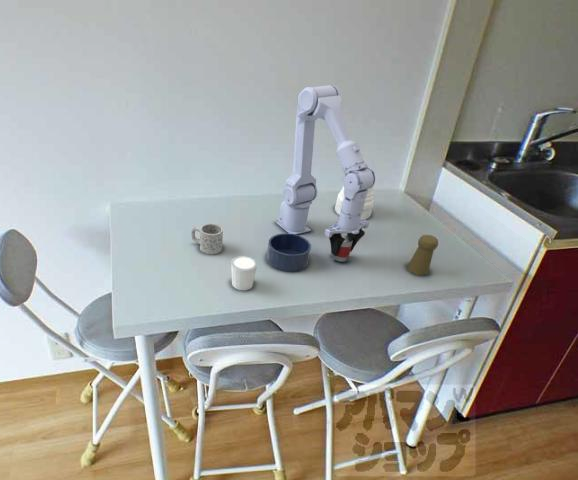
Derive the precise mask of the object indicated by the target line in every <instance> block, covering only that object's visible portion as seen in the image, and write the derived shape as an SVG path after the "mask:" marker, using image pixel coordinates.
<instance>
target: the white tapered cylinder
mask: <svg viewBox="0 0 578 480" xmlns="http://www.w3.org/2000/svg"><path fill="white" fill-rule="evenodd" d="M230 265H231V266H230V267H231V268H230V269H231V270H230V271H231V285H232V287H233V288H234V289H236V290H239V291H248V290H251V289H252V288H253V286H254V280H255V277H256V271H257V268H258V262H257V260H256V259H254V258H253V257H251V256H248V255H239V256H236V257H233V258H232V259H231V262H230Z"/></svg>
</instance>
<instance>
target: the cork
mask: <svg viewBox="0 0 578 480" xmlns="http://www.w3.org/2000/svg"><path fill="white" fill-rule="evenodd" d="M417 245H418V246H417V248H416V250H415V252H414V253H413V255H412V257H411V259H410V261H409V262H408V264H407V266H406V269H407V271H409V272H410V273H411V274H413V275H417V276H422V277H423V276H427V275H428V274H429V272H430V267H431V263H432V259H433V255H434V251H435V250H436V249H437V248H438V246H439V240H438V238H437V237H436V236H434V235H431V234H423V235H421V236H420V237H419V238H418V241H417Z"/></svg>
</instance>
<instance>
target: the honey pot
mask: <svg viewBox="0 0 578 480" xmlns="http://www.w3.org/2000/svg"><path fill="white" fill-rule="evenodd" d="M367 190H368V192H367V196H366V200H365V203H364V207H363V211H362V214H361V218H360V220H363V219H365V220H367V219H369V218H370V217H371V215H372V211H373V208H374V204H375V197H374V193H375V191H374V185H373V186H372V187H371V188H369V189H367ZM343 199H344V186H343V185H342V188H341V189H340V192H338V194H337V198H336V202H335V206H334V211H335V213H336V214H337V215H339V216H340V212H341V208H342V204H343Z"/></svg>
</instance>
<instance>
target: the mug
mask: <svg viewBox="0 0 578 480" xmlns="http://www.w3.org/2000/svg"><path fill="white" fill-rule="evenodd" d="M196 232H198V233H199V238H197V237H196ZM223 235H224V228H223V227H222V225H219V224H217V223H205V224H203V225H201V226H193V227H192V228H191V240H192V241H194V242H195V243H197V244H198V245H199V250H200V252H202V253H204V254H207V255H217V254H219V253H221V252H222V251H223V238H224V236H223Z"/></svg>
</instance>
